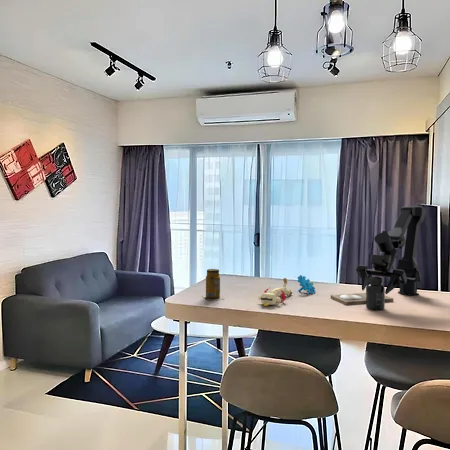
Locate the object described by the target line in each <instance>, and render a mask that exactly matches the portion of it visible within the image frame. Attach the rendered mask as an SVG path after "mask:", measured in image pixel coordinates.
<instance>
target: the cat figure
mask: <svg viewBox="0 0 450 450" xmlns="http://www.w3.org/2000/svg"><path fill="white" fill-rule="evenodd" d="M287 284H288V280H287V278H286V277H283V285H282V287H276V288H274V289H272V290H270V291H269V289H270V287H269V288H266V289H265V290H264V291H263V293H261V295H260V296H257V297H258V298H257V299H258V300H259V301H260V302H261V304H262V305H263V306H267V307H268V306H270V305H272V306H273V305H278V303H283V302H285V300H286V299H287V297H286V296H292V295H293V291H292V289H290V288H288V289H287V288H286V287H287ZM268 291H269V292H268Z"/></svg>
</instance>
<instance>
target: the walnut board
mask: <svg viewBox="0 0 450 450" xmlns="http://www.w3.org/2000/svg"><path fill="white" fill-rule="evenodd" d="M330 299H331V300H334V301H336V302H338V303H340V304H342V305H345V306H348V305H362V304H363V305H364V304H365V305H366V292H359V293H346V294H345V293H343V294H342V293H341V294H331V295H330ZM389 302H390V303H392V302H394V298H392V297H391V296H388V295H385V303H389Z"/></svg>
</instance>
